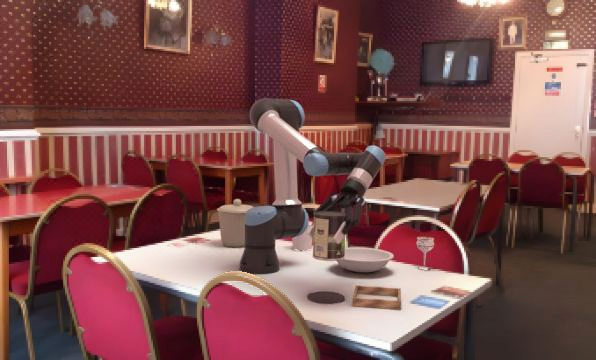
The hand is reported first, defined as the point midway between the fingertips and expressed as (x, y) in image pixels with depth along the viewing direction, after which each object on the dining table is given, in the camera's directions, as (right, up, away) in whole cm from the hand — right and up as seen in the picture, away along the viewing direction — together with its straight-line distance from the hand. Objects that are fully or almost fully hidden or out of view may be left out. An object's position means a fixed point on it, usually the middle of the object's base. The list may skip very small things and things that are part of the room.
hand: (322, 238), depth 179 cm
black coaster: (+1, -19, +4) cm, 20 cm away
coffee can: (+2, -7, +3) cm, 7 cm away
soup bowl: (+16, -17, +41) cm, 47 cm away
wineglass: (+42, -17, +47) cm, 65 cm away
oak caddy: (+17, -20, +2) cm, 26 cm away
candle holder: (-6, -13, +77) cm, 78 cm away
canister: (-36, -12, +81) cm, 90 cm away
